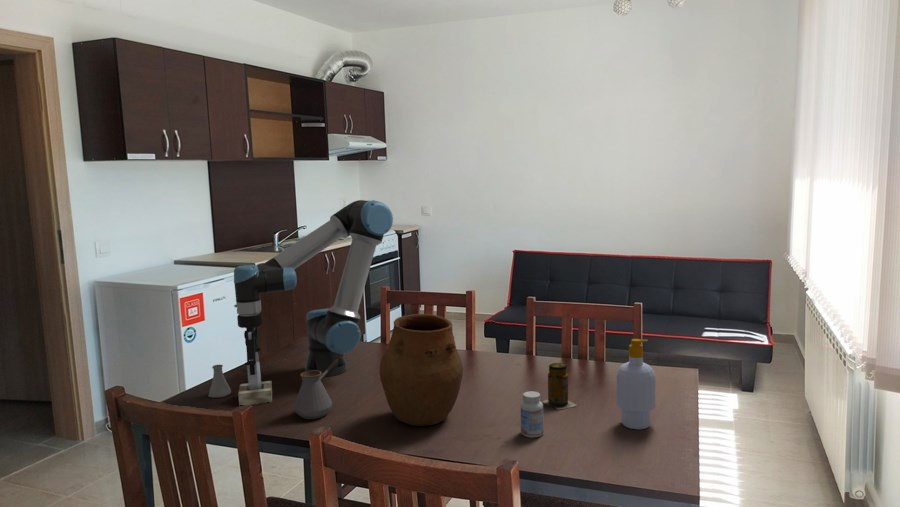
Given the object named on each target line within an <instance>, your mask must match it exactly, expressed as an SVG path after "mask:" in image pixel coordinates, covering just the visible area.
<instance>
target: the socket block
mask: <svg viewBox="0 0 900 507" xmlns="http://www.w3.org/2000/svg"><path fill="white" fill-rule="evenodd" d="M272 384H273V383H272V380H267V381H266V380H265V381H261V387H262V389H258V390H250V391H249V386H248V382H247V383H240V384H239V389H238V394H237V396H238V397H237V398H238V406H239V407H241V406H240V405H245V406H252V405H259V404H260V403H261V404H268V403H267V402H270V403H272V402H273V386H272Z"/></svg>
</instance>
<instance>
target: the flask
mask: <svg viewBox="0 0 900 507" xmlns="http://www.w3.org/2000/svg"><path fill="white" fill-rule="evenodd" d="M223 366H224V365H223V364H214V365H213V366H212V367H211V369H213V375H212V376H213V377H212V381H211V385H210V388H209V392H208V397H209V398H214V399H215V398H224V397H226V396H229V395H231V393H232V389H231V388H230V386H229V384H228V382H227V380H226V377H225V375H224V372H223Z"/></svg>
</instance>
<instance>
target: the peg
mask: <svg viewBox="0 0 900 507" xmlns="http://www.w3.org/2000/svg"><path fill="white" fill-rule="evenodd" d="M256 363H257V375H258V384H253V385H249V377H248V376H247V383H248V386H249V391H250V390H258V389H262V387H261V382H262V376H261V374H262V373H261V363H260V361H259V362H256ZM246 370H247V373H248V365H246Z"/></svg>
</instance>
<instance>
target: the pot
mask: <svg viewBox="0 0 900 507" xmlns="http://www.w3.org/2000/svg"><path fill="white" fill-rule="evenodd" d="M379 363H380V364H379V378H380V383H381V386H382V389H383V392H384V395H385V398H386V402H387V405H388V406H389V408H390V411H391V412H392V414H393V416H394V417H395V418H396V420H398V421H399V422H402V423H404V424H407V425H411V426H415V427H416V426H417V427H426V426H432V425H434V426H435V425H438V424H439V423H441V422H443V421H444V420H446V419H447V417H448V416H449V415H450V413H451V411H452V410H453V408H454V406H455V404H456V402H457V398H458V396H459V393H460V389H461V386H462V380H463V376H464V368H463V361H462V357H461V356H460V354H459V352H458V349H457V345H456V341H455V335H454V333H453V323H452V321H451V320H449V319H447V318H445V317H443V316H440V315H437V314H430V313H414V314H408V315H401V316H399V317H396V319H394V320H393V330H392V332H391V336H390V340H389V342H388V347H387V348H386V349H385V351H384V353H383V355H382V357H381V359H380V362H379Z"/></svg>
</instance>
